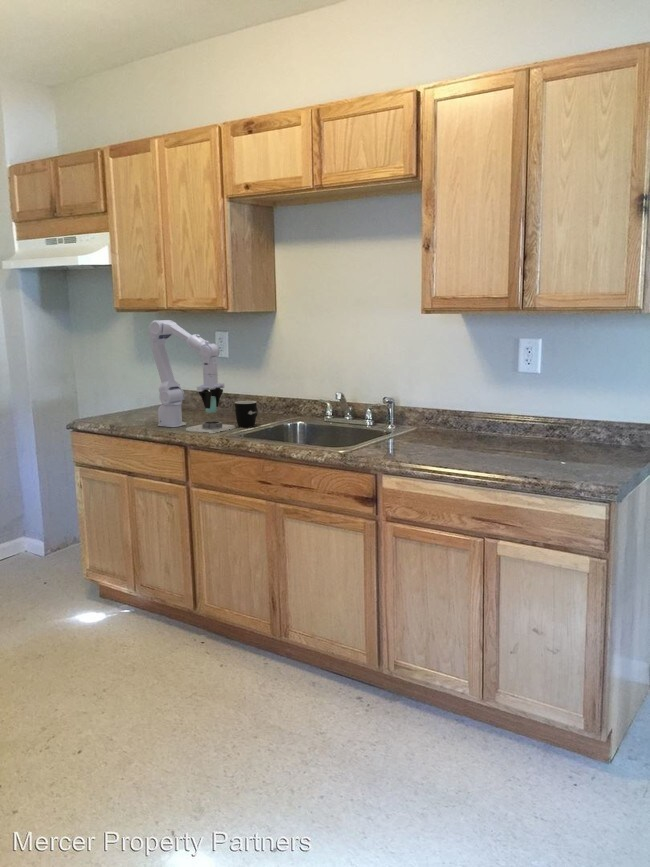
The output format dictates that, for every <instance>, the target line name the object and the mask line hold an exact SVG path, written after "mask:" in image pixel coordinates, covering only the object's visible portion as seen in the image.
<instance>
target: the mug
mask: <svg viewBox="0 0 650 867" xmlns="http://www.w3.org/2000/svg"><path fill="white" fill-rule="evenodd" d="M234 411H235V418H236V423H237V425H238V428H252V427H254V426H255V425H256V424H255V423H256V419H257V416H258V407H257V401H255V400H240V401H239V400H238V401H235V402H234Z"/></svg>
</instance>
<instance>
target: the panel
mask: <svg viewBox="0 0 650 867" xmlns="http://www.w3.org/2000/svg"><path fill="white" fill-rule="evenodd" d="M229 429H230V430H234V429H236V425H233V424H225V423H223V422H222V421H221V420H220V421H219V420H207V421H203V422H201V424H197V425H192V426H188V427H185V431H186V432H194V433H203V432H209V433H208V434H213V433H214V434H216V433H215V432H218V433H220V431H222V432H226V431H230V430H229ZM225 430H226V431H225Z"/></svg>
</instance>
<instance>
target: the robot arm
mask: <svg viewBox="0 0 650 867" xmlns="http://www.w3.org/2000/svg"><path fill="white" fill-rule="evenodd" d="M147 330H148V333H149V344H150V348H151V350H152V355H153V358H154V362H155V366H156V369H157V372H158V376H159V379H160V382H161V384H160V386H159V388H158V392H159V402H160V403H161V404H160V406H159V407H158V410H157V414H158V415H157V416H158V420H157V421H158V424H157V426H159V427H168V428H178V427H182V426H187V423H183V418H182V417H183V415H182V404H183V402H184V399H185V397H186V396H185V395H186V394H185V391H184V390H183V389H182V387H181V384H180V383H179V382H177V381H176V380H175V376H174V372H173V369H172V366H171V363H170V359H169V357H168V353H167V349H166V346H165V344H166V342H167V341H168V340H169V339H170V338H171V336H175V337H177V338H179V339H181V340H183V341H184V342H186V343H187V344H186V345H187V347H189V348H190V349H192V350H194V351H195V352H196V353H198V354H199V356H200V358H201V362H202V374H203V375H202V376H203V378H202V379H203V384H202V385H197V386H196V392H198V394H199V396H200V398H201V400H202V402H203V406H204V409H205V408H208V409H209V408H210V399H211V396H215V397H216V408H218V407H219V404H220V399H221V396H222V394H223V392H224V389H225V383H222V382H221V383H219V382H218V381H219V380H218V379H219V378H218V357H219V355H220V353H221V350H220V347H219V346H218V345H217V343H213V342H212V343H210V341H209V340H205V339H204V338H202V337H201V335H200V334H191V333H189V332H188V331H187V330H185V329H184V328H182V327H181V326H179V325H178V323H177V322H175V321H173V320H171V319H165V320H164V319H163V320H161V319H159V320H156V319H154V320H153V321H151V322H150V324H149V325H148V328H147Z"/></svg>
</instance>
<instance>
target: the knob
mask: <svg viewBox="0 0 650 867" xmlns="http://www.w3.org/2000/svg"><path fill="white" fill-rule="evenodd" d="M204 409H205V413H207V414H215V413H217V412H218V410H217V407H216V397H215V396H212V395H211V399H210V408H209V409H208V408H205V407H204Z"/></svg>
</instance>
